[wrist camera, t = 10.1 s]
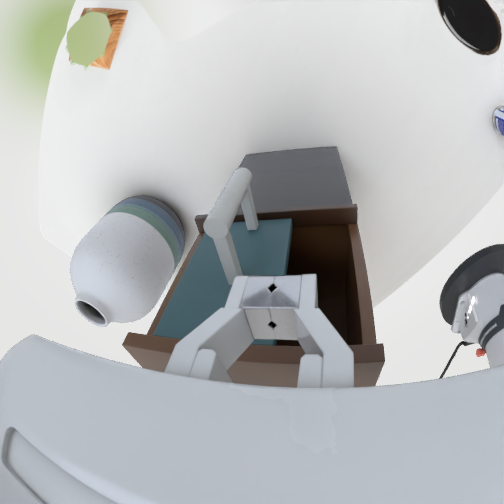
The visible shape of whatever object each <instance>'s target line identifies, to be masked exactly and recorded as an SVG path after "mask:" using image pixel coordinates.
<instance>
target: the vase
mask: <svg viewBox="0 0 504 504" xmlns="http://www.w3.org/2000/svg"><path fill="white" fill-rule="evenodd" d="M184 245H185V236H184V230H183V227H182V224H181V222H180V220H179V218H178V217H177V215H176V214H175V213H174V212H173V210H172V209H171V208H169V207H168V206H167V205H166V204H164V203H163V202H161V201H159V200H157V199H155V198H152V197H148V196H134V197H130V198H127V199H125V200H123V201H121V202H119V203H118V204H117V205H115V206H114V207H113V208H112V209H111V210H110V211H109V212H108V213H107V214H106V215H105V216H104V217H103V218H102V219H101V220H100V221H99V222H98V223H97V224H96V225H95V226H94V227H93V228H92V229H91V230H90V231H89V232H88V233H87V235H86V236H85V237H84V238H83V239H82V240H81V242H80V243H79V244H78V246H77V247H76V249H75V251H74V254H73V256H72V260H71V264H70V274H71V280H72V284H73V287H74V289H75V292H76V295H77V297H76V299H75V306H76V309H77V310H78V312H79V313H80V314H81V315H82V316H83V317H84V318H85V319H86V320H88V321H89V322H91V323H93V324H95V325H97V326H100V327H106V326H107V325H108V324H109V323H110V322H120V323H124V322H125V323H126V322H133V321H136V320H139V319H141V318H142V317H144V316H145V315H147V314H148V313H149V312H150V311H151V310H152V309H153V308H154V306H155V305H156V303H157V302H158V300H159V298H160V297H161V295H162V293H163V291H164V289H165V287H166V286H167V284H168V282H169V280H170V278H171V276H172V274H173V272H174V271H175V269H176V267H177V265H178V263H179V261H180V259H181V257H182V254H183V251H184Z"/></svg>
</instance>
